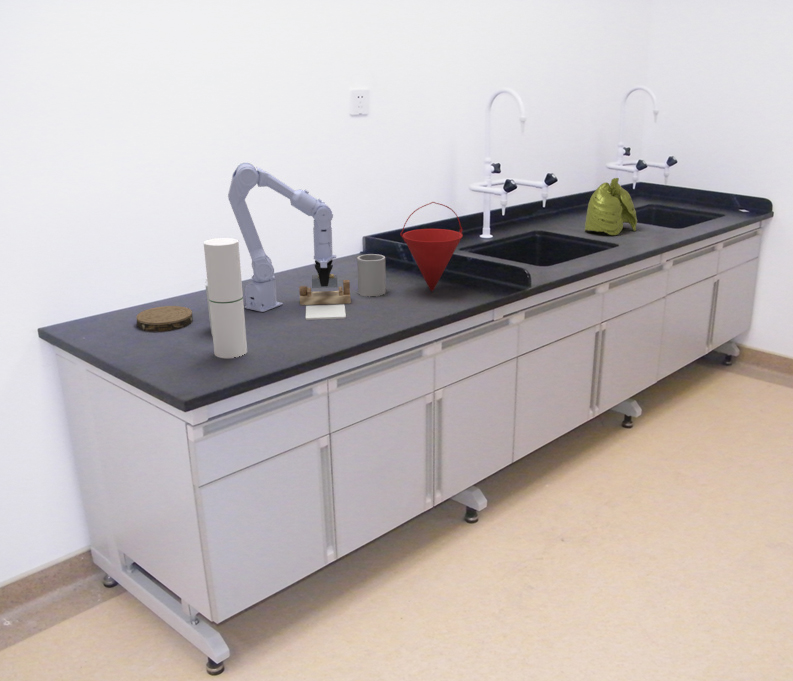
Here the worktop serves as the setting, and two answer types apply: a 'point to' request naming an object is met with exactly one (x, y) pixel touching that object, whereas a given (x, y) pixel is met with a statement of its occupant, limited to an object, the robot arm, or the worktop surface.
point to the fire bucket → (432, 249)
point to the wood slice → (164, 318)
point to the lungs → (610, 209)
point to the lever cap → (331, 283)
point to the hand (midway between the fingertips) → (324, 284)
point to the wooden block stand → (325, 295)
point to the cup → (371, 275)
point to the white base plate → (325, 312)
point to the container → (225, 297)
